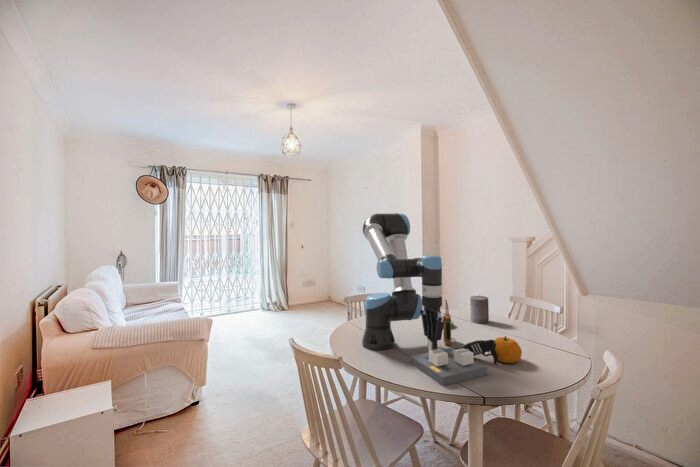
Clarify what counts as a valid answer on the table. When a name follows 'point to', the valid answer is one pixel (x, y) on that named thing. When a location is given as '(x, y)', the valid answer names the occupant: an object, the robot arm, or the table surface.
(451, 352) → the switch panel
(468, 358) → the tab
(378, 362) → the table surface
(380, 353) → the table surface
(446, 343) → the brown upright pointed stick
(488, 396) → the table surface
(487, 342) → the gun
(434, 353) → the tab
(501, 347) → the fruit
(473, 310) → the pillar candle
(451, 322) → the tape roll
